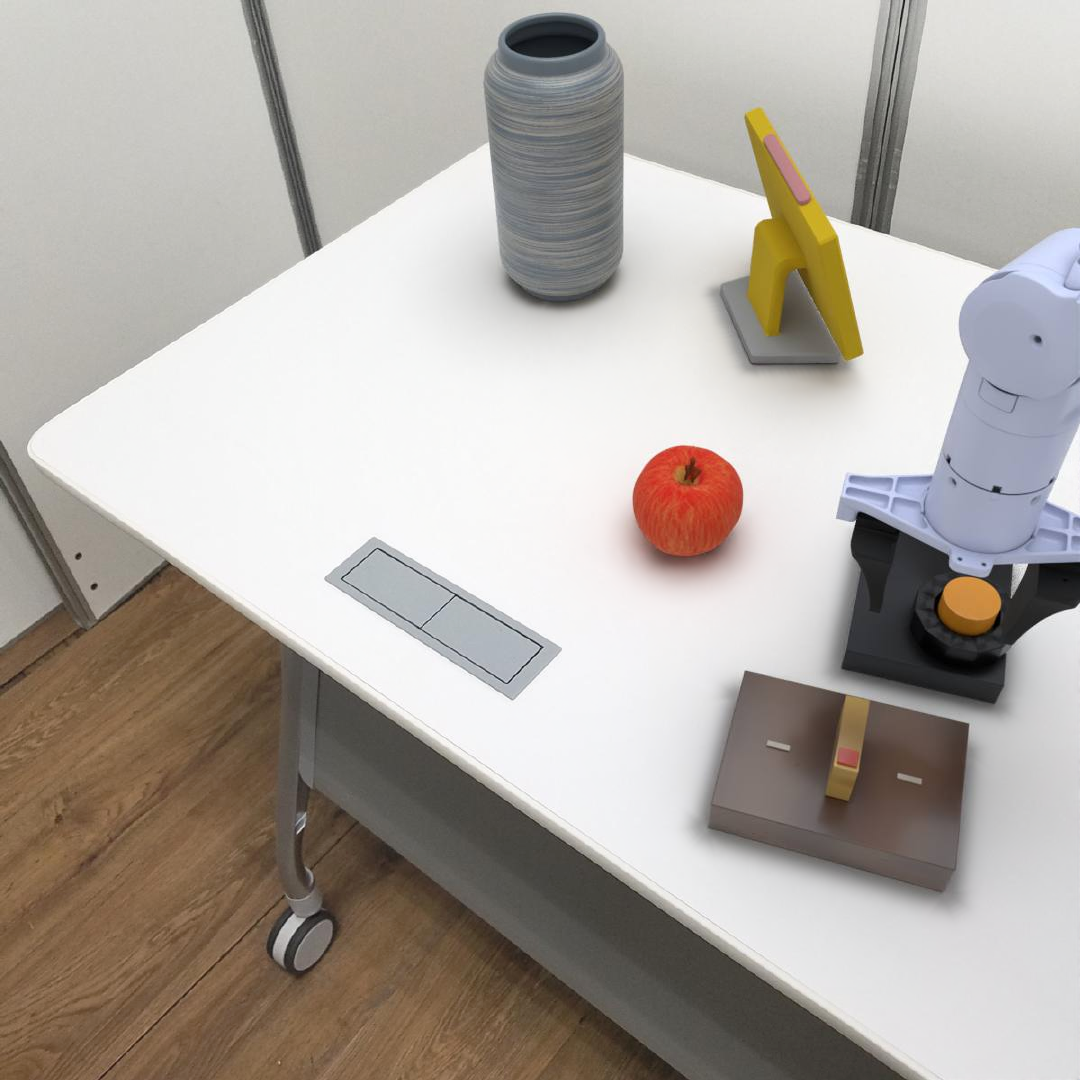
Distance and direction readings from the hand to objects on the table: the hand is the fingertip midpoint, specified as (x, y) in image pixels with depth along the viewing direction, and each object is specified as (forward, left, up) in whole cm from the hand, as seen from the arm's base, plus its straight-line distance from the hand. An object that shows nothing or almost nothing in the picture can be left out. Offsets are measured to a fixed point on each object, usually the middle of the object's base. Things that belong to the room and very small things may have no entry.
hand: (941, 615), depth 66 cm
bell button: (-2, -5, -5) cm, 7 cm away
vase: (+37, -39, -9) cm, 54 cm away
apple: (+18, -10, -9) cm, 22 cm away
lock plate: (+4, +8, -9) cm, 13 cm away
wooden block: (+4, +8, -6) cm, 11 cm away
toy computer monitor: (+16, -37, -9) cm, 41 cm away
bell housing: (0, -7, -9) cm, 11 cm away
